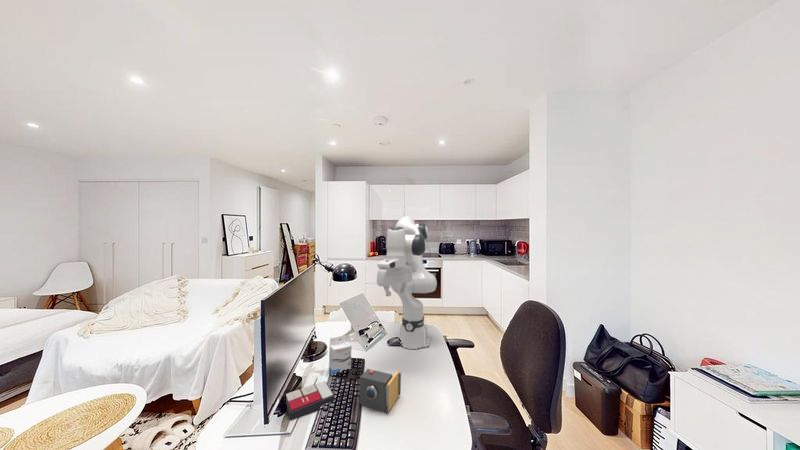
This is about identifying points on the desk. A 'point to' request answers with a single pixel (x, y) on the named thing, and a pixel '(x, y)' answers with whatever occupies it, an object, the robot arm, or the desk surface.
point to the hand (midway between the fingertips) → (395, 294)
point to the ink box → (339, 354)
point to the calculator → (308, 399)
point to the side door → (393, 391)
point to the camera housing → (374, 389)
